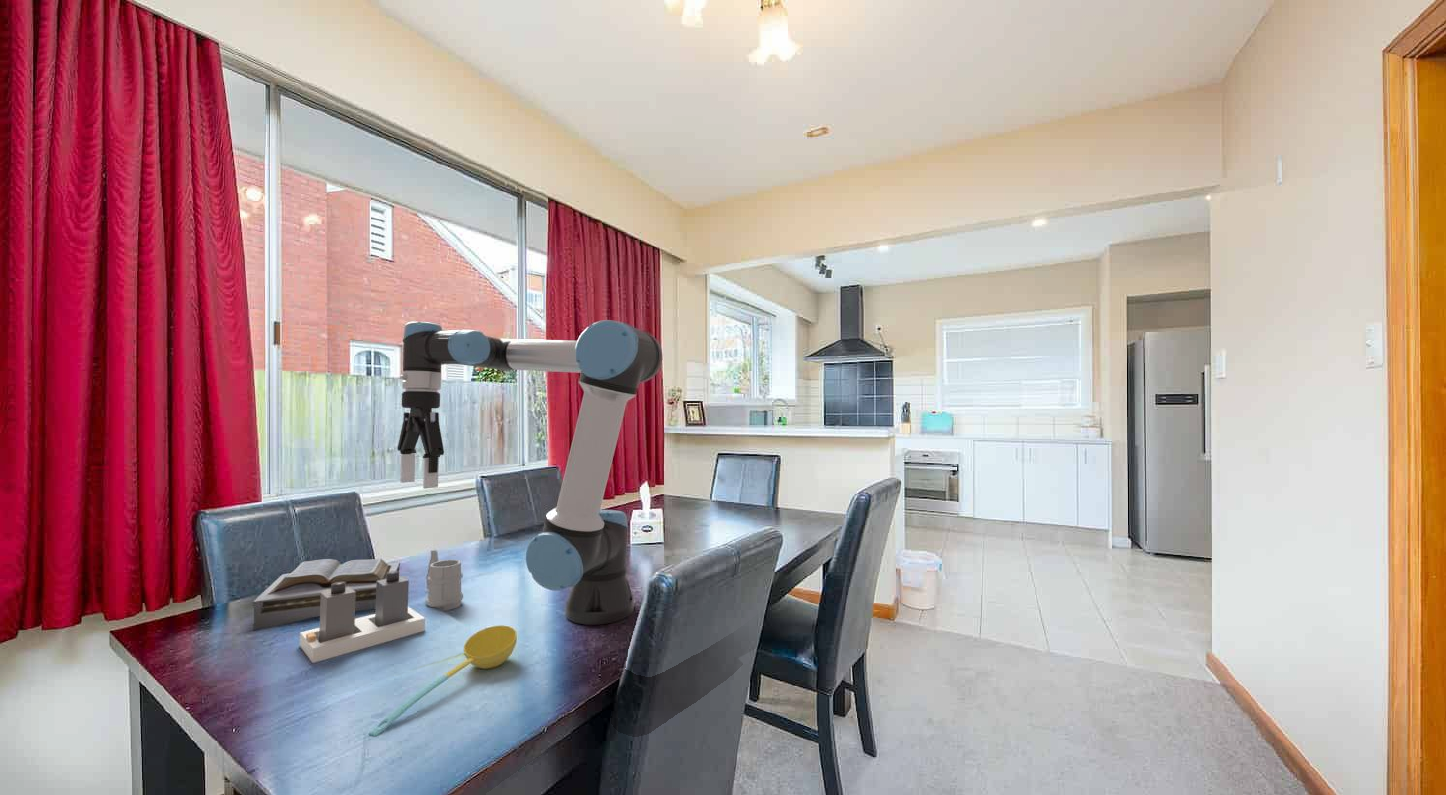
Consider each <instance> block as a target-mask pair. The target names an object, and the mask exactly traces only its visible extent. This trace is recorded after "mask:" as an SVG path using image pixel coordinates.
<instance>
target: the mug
mask: <svg viewBox="0 0 1446 795" xmlns="http://www.w3.org/2000/svg"><path fill="white" fill-rule="evenodd" d="M428 563H429V564H428V567H427V573H426V589H427V590H428V592H427V594H428V595H427V597H426V598H425V605H427V606H428V607H430V608H437V609H438V610H439V611H442V612H445V611H446V612H447V611H450V610H451V611H452V610H453V609H456V608H459V607H460V606H461V604H462V600H463V598H464V593H463V591H462V579H463V576H464V575H463V573H462V562H461V560H459V559H444V560H439V553H438V550H437V549H433V550H430V559H429V562H428Z"/></svg>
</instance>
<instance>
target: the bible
mask: <svg viewBox="0 0 1446 795" xmlns="http://www.w3.org/2000/svg"><path fill="white" fill-rule="evenodd" d="M400 565H401V563H400V562H392V563H389V562H388V563H386V561H385V560H383V558H376V559H375V558H374V559H373V558H372V559H353V560H348V561H346V562H344V563H342V564H341V562H340V561H339V560H337V559H331V558H323V559H316V560H309V561H308V560H307V561H302V562H301V563H299V565H298V566H297V567H296V568H295V569H294V570H292V572H291V573H289V572H288V573H283V574H281V575H280V576H278V578H276V580H274V581H273V583H271V584H270V586H268V587H267V588H266V589H265V590H264V591H263V592H261V593H260V595H258V596H257V597H256V599H254V600H253V601H252V606H253V619H254V620H253V625H252V626H253V628H252V631H256V630H263V629H271V628H274V627H278V626H282V625H287V624H291V623H295V622H301V621H304V620H309V619H313V618H317V617H320V601H321V592H325V591H330V590H331V584H333V583H336V582H346V587H350V588H351V589H353V590H354V591H355V592H356V595H355V612H360V611H368V610H374V609H375V610H376V581H378V580H383V579H386V573H388V572H391V571H399V572H400Z"/></svg>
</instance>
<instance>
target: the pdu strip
mask: <svg viewBox="0 0 1446 795" xmlns="http://www.w3.org/2000/svg"><path fill="white" fill-rule="evenodd" d="M319 628H320V627H316V628H313V629H309V630H305V631H301V632H299V634H300V635H299V648H301V649H302V651H303V652H304V654H305V655H306V657H307V658H308V659H309V661H310V662H311V663H312V664H315V663H318V662H322V661H325V660H329V659H333V658H336V657H340V656H343V655H346V654H349V653H354V652H357V651H360V650H364V649H367V648H370V647H375V646H377V645H381V644H385V643H388V642H391V641H394V640H398V639H402V638H405V637H408V636H412V635H416V634H419V633H421V632H422V633H423V632H425V631H426V617H425V616H423V615H422V614H420V613H418V612H417V611H416V610H415V609H413V608H411V607H410V606H408V619H407V620H404V621H400V622H397V623H393V624H389V625H386V626H382V627H377V626H376V625H375V613H374V614H369V615H365V616H360V617H358V618H357V617H355V624H354V634H352V635H348V636H344V637H341V638H337V639H333V640H330V641H326V642H322V643H319Z"/></svg>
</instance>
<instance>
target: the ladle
mask: <svg viewBox="0 0 1446 795" xmlns="http://www.w3.org/2000/svg"><path fill="white" fill-rule="evenodd" d="M517 637H518V634H517V631H516V630H515V628H513V627H510V626H508V625H494V626H490V627H485V628H484V629H481V630H479V631H477V632H476V633H474V634H473V635H471V636H470V637H469V638H468V639H467V640H466V641H465V643H464V645H463V652H464V655H465V658H466V660H465V661H463V662H461V663H459V664H458V665H457V666H455V667H453V669H451V670H450V671H448V672H446V673H445V674H443V675H441V676H440V677H438V678H436V679H435V680H434V681H432V682H431V683H429V684H427V685H426V686H424V687H423V688H421V689H420V690H418V692H416V693H414V695H412V696H411V697H409V698H408V699H407V700H406V701H404V702H403V703H402V704H400V705H399V706H398V707H396V708H395V709H394V710H393V711H392V712H391V713H390V714H389V715H387V716H386V717H385V718H383V719H382V721H381V722H379V723H378V724H377V725H376V726H374V727H373V728H372V730H371V729H370V731H369V732H368V735H370V736H373V737H377V736H379V735H380V734H382V732H383V731H384V730H386V729H387V728H388V727H389V726H390V725H392V724H393V723H394V722H395V721H396V720H397V719H398V718H400V717H401V716H402V715H403V714H404V713H405V712H406V711H407V710H409V709H410V708H411V707H412V706H413V705H415V704H416V703H417V702H418V701H420V700H421V699H423V698H424V697H425V696H427V694H429V693H431V692H432V691H433V690H434V689H435V688H437V687H439V686H440V685H442V683H444V682H446V681H447V680H448V679H449V678H451V677H453V676H454V675H456V674H457V673H458V672H460V671H461V670H462V669H464V668H466V667H468V666H469V665H472V666H474V667H476V668H479V669H485V670H487V669H493V668H496V667H499V666H500V665H501V664H503V663H505V662H506V660H508V659H509V658H510V656H511V655H513V651H514V650H515V648H516V644H517ZM384 724H385V725H384ZM382 725H384V726H382ZM381 726H382V727H381Z"/></svg>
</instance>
